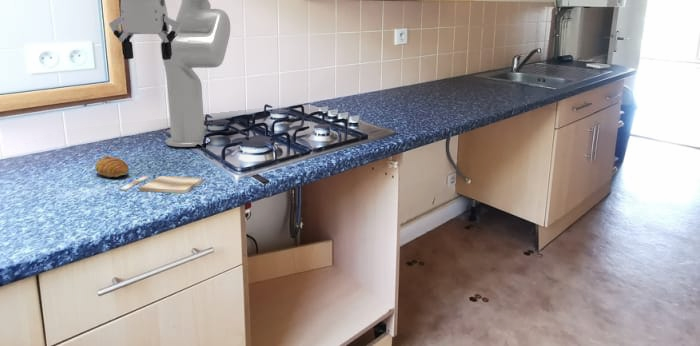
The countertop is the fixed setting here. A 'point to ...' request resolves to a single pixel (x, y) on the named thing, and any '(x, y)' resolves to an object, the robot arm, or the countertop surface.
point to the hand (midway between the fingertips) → (147, 59)
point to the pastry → (111, 167)
